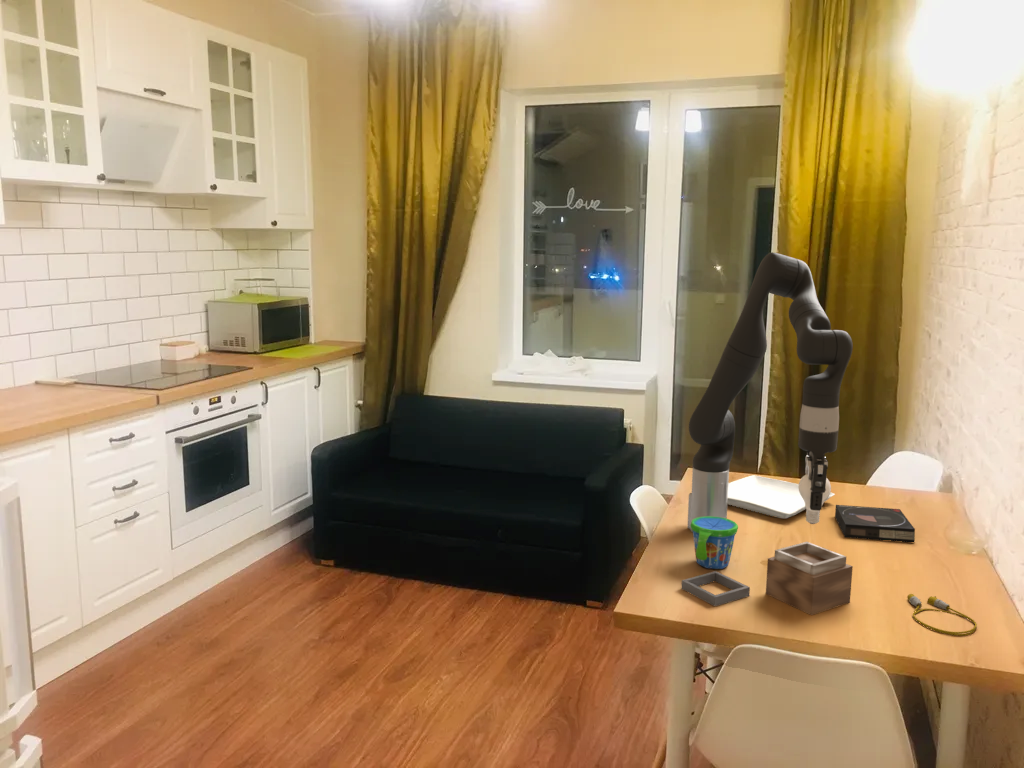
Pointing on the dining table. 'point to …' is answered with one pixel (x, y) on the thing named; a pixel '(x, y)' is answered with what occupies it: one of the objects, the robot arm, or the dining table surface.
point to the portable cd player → (874, 523)
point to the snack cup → (713, 540)
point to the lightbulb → (805, 492)
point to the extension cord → (940, 604)
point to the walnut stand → (809, 577)
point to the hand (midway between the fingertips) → (813, 504)
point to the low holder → (715, 600)
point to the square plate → (767, 496)
